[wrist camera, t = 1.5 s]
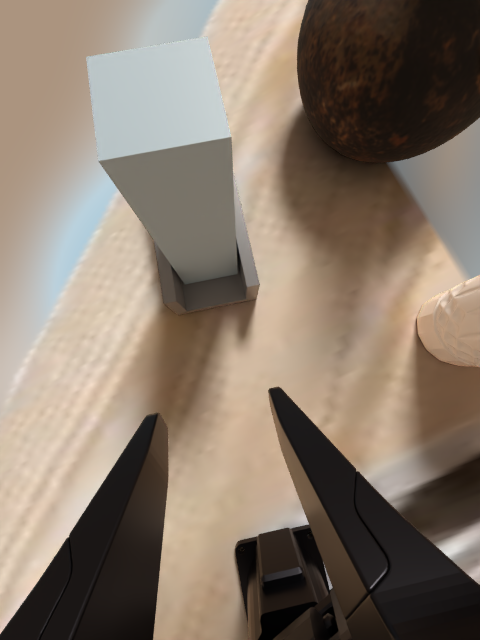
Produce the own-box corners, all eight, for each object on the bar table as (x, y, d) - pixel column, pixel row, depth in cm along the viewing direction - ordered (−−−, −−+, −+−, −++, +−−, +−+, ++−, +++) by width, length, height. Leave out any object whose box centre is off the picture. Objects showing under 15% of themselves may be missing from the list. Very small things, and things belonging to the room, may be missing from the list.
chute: (256, 299, 23) (259, 284, 19) (178, 315, 23) (163, 303, 19) (227, 170, 26) (224, 132, 22) (156, 183, 26) (139, 147, 22)
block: (237, 274, 23) (231, 136, 9) (185, 284, 23) (98, 160, 9) (227, 226, 24) (207, 36, 10) (176, 236, 24) (86, 56, 10)
